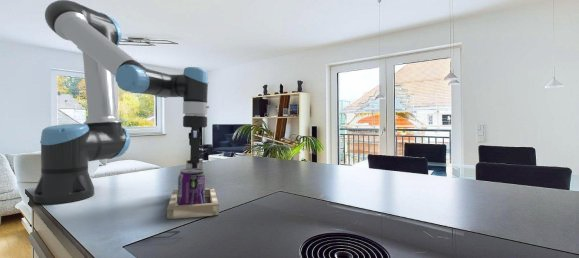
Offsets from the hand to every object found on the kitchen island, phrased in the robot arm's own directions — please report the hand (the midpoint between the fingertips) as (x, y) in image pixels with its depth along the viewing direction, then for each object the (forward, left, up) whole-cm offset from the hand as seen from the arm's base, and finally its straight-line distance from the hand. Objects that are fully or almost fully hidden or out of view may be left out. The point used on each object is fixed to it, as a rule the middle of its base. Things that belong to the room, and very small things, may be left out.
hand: (194, 179), depth 91 cm
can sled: (+9, 0, -6) cm, 11 cm away
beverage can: (+14, -1, -6) cm, 16 cm away
